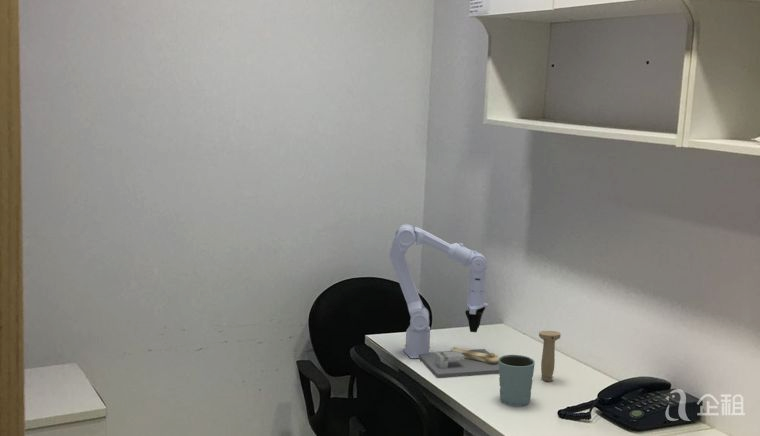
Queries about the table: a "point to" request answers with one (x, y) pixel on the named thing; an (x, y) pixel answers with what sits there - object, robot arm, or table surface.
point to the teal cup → (515, 379)
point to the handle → (548, 353)
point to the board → (460, 366)
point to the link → (478, 355)
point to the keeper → (447, 358)
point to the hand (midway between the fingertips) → (474, 329)
